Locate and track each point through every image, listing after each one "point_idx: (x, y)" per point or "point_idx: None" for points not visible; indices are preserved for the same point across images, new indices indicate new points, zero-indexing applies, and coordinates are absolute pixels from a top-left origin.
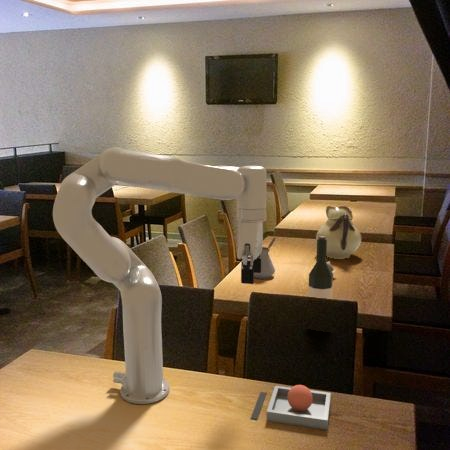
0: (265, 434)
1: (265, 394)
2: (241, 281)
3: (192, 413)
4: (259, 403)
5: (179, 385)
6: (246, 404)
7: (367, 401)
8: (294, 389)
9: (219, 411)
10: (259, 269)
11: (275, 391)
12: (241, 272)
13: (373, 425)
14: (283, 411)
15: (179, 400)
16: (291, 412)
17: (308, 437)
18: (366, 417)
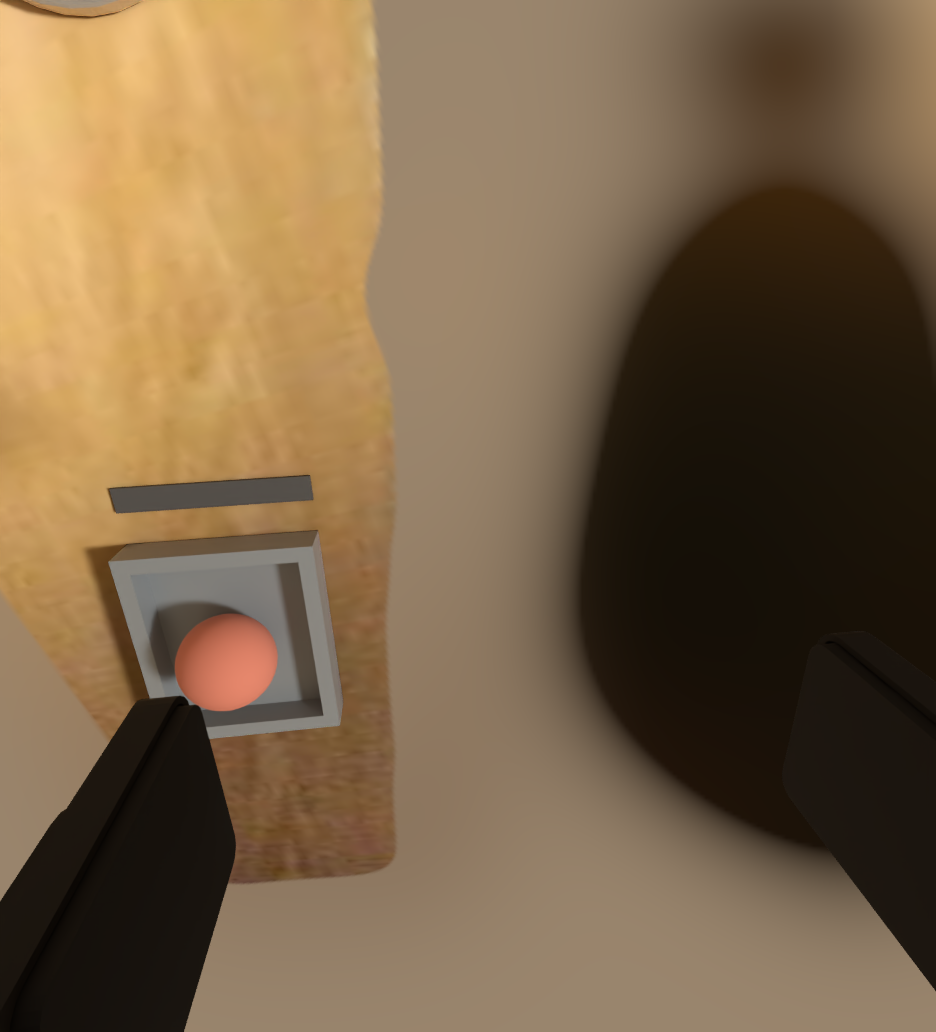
0: (48, 559)
1: (297, 499)
2: (134, 716)
3: (11, 233)
4: (222, 494)
5: (209, 52)
6: (199, 445)
7: (388, 786)
8: (195, 671)
9: (93, 352)
10: (818, 823)
11: (266, 558)
12: (17, 902)
13: (264, 812)
14: (140, 615)
15: (75, 116)
16: (206, 615)
17: (110, 679)
18: (297, 794)
